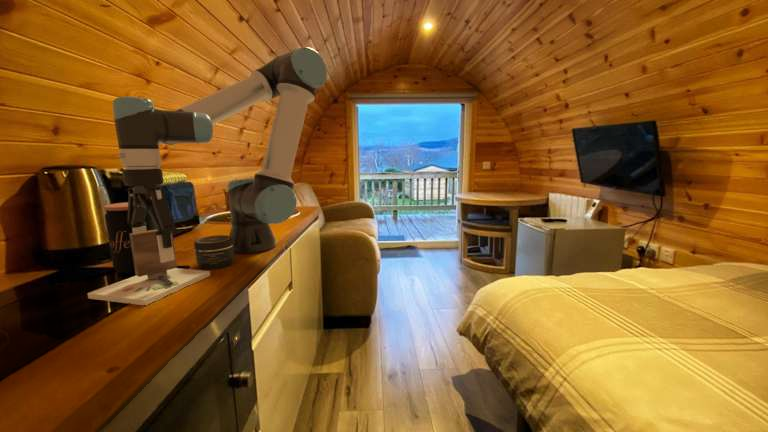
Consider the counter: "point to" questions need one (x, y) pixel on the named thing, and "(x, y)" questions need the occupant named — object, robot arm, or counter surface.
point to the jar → (214, 251)
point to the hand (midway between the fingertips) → (154, 256)
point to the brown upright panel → (150, 256)
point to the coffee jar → (122, 236)
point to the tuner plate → (148, 287)
